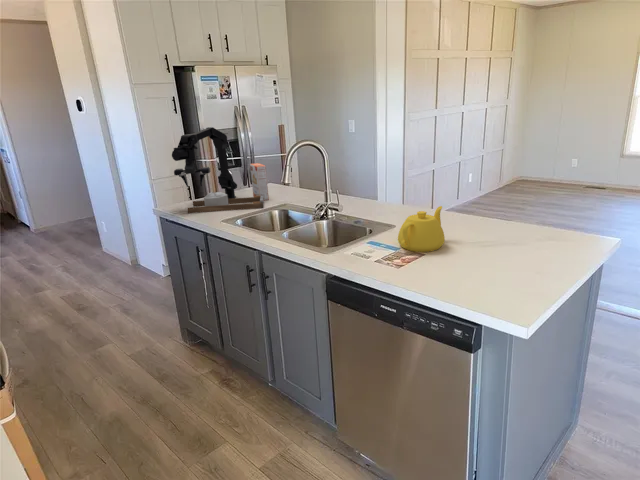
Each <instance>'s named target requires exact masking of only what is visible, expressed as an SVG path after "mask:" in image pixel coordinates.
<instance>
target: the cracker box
mask: <svg viewBox="0 0 640 480" xmlns="http://www.w3.org/2000/svg"><path fill="white" fill-rule="evenodd" d="M249 168H250V176H251V177H250V179H251V184H252V185H251V187H252V195H253V197H254V196H261V195H263V197H264V202H265V201H269V198H270V197H269V189H268V188H269V187H268V177H267V176H268V175H267V166H266V165H264V164H262V163H259V162H258V163H256V162H255V163H250V164H249Z"/></svg>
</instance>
